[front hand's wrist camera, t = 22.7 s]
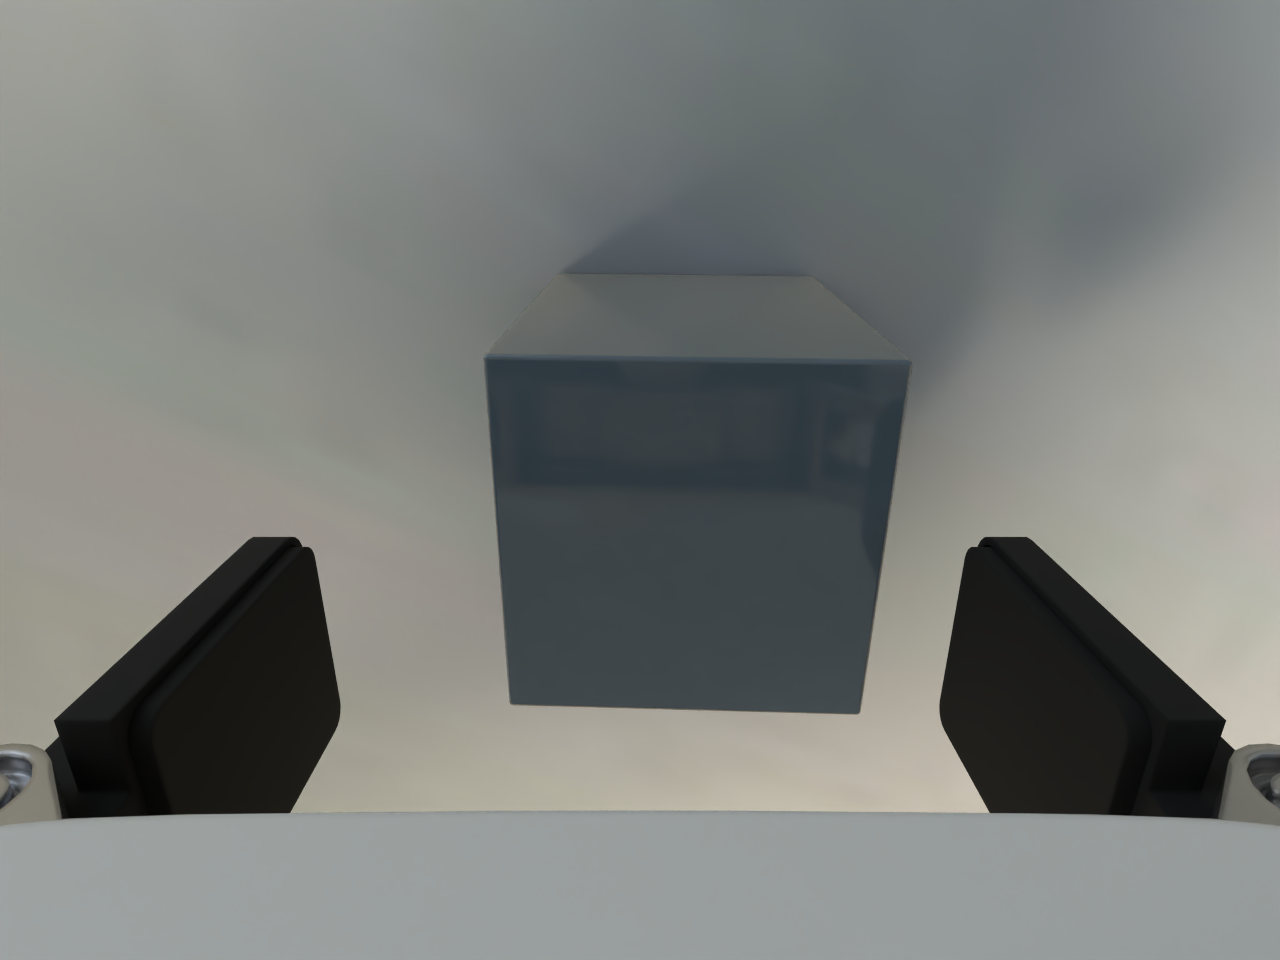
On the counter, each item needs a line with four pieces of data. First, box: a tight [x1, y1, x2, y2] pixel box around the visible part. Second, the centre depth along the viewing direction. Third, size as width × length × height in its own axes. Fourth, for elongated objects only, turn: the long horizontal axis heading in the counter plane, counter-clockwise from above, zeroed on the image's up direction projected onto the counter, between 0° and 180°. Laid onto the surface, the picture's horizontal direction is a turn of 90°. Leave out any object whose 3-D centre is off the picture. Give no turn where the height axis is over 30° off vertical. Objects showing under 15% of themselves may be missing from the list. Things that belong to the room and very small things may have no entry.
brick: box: [484, 273, 912, 715], centre depth 15 cm, size 6×6×8 cm
